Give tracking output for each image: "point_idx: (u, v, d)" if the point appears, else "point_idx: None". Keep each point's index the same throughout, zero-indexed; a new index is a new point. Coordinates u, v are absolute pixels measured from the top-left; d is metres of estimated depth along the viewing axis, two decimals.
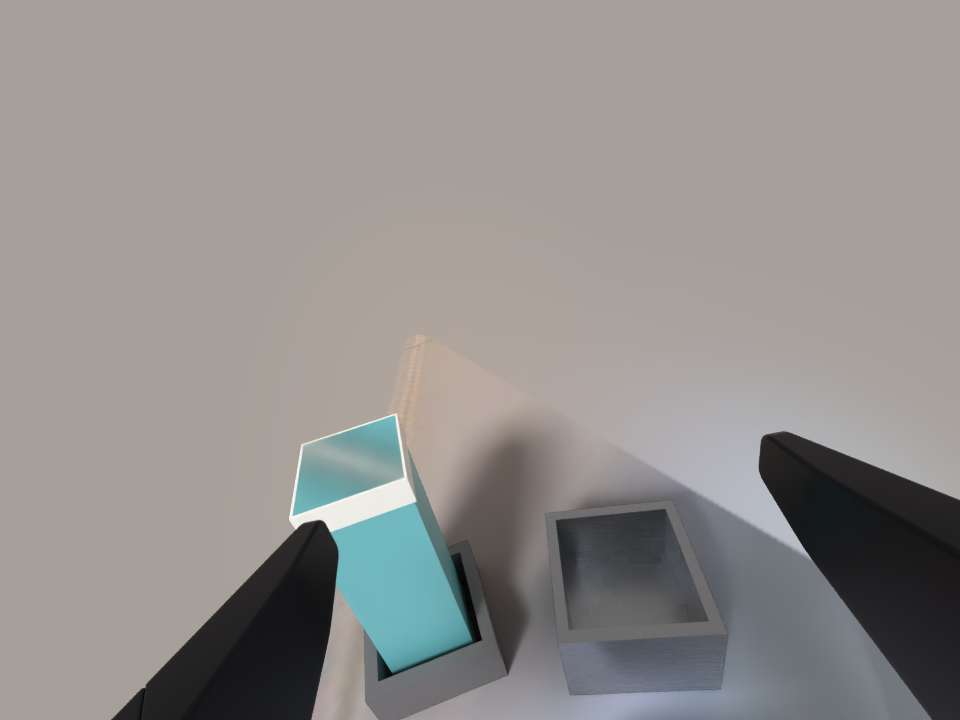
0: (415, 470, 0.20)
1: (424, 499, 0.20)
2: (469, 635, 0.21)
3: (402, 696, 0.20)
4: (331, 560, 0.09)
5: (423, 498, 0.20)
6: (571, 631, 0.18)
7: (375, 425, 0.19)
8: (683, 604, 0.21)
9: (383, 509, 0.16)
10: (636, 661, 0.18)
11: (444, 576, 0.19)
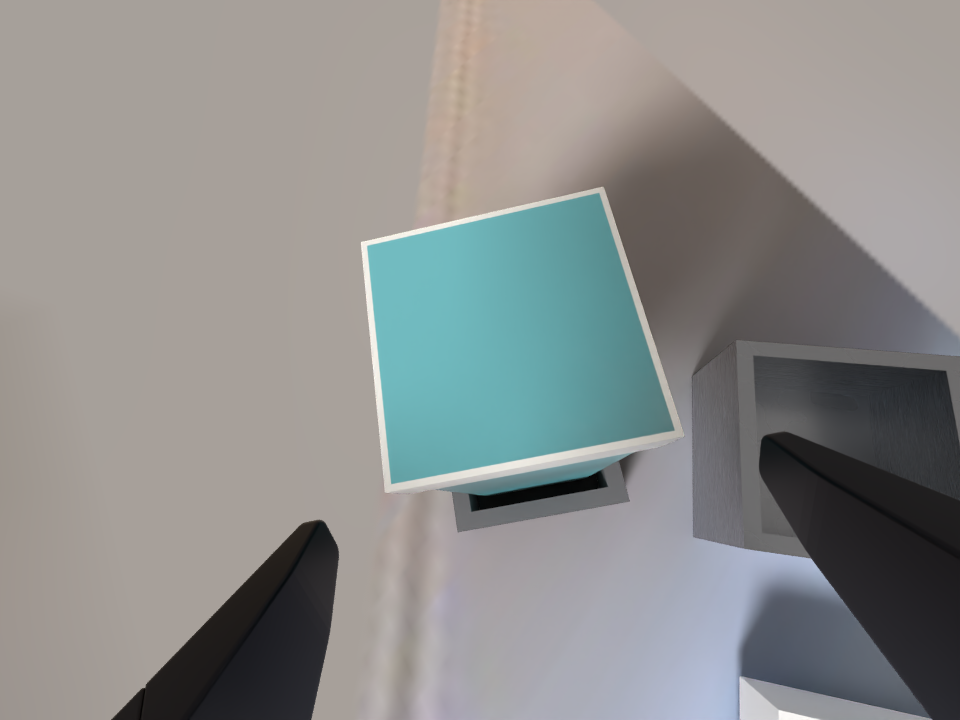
0: None
1: None
2: (589, 475, 0.16)
3: None
4: (331, 560, 0.09)
5: None
6: (766, 535, 0.13)
7: (550, 218, 0.07)
8: None
9: (588, 459, 0.07)
10: None
11: (608, 465, 0.12)
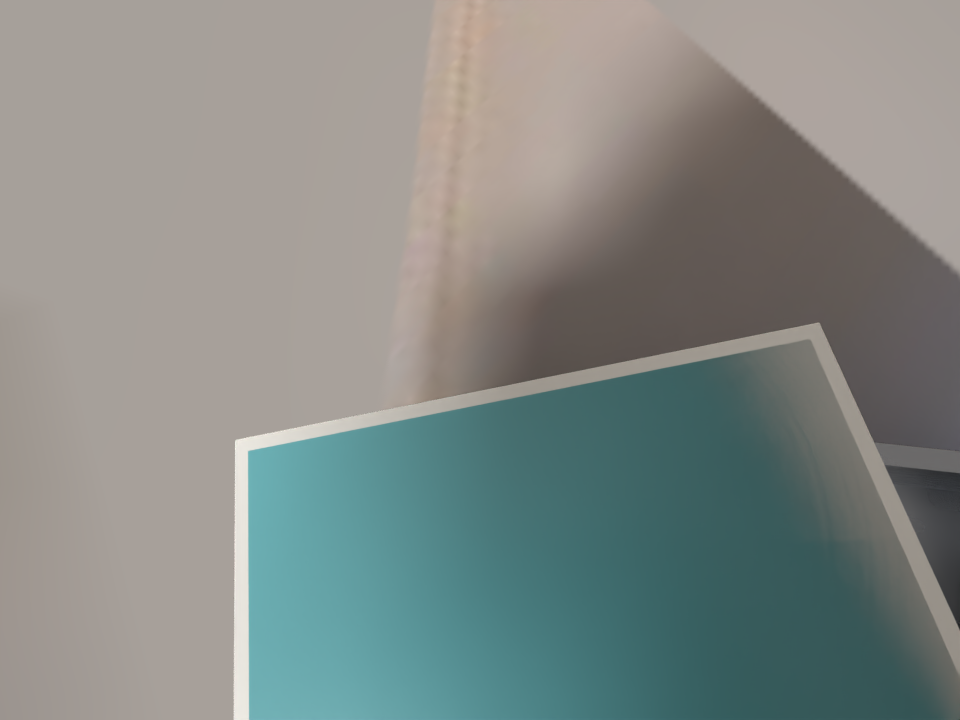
0: None
1: None
2: None
3: None
4: None
5: None
6: None
7: (689, 405, 0.03)
8: None
9: None
10: None
11: None
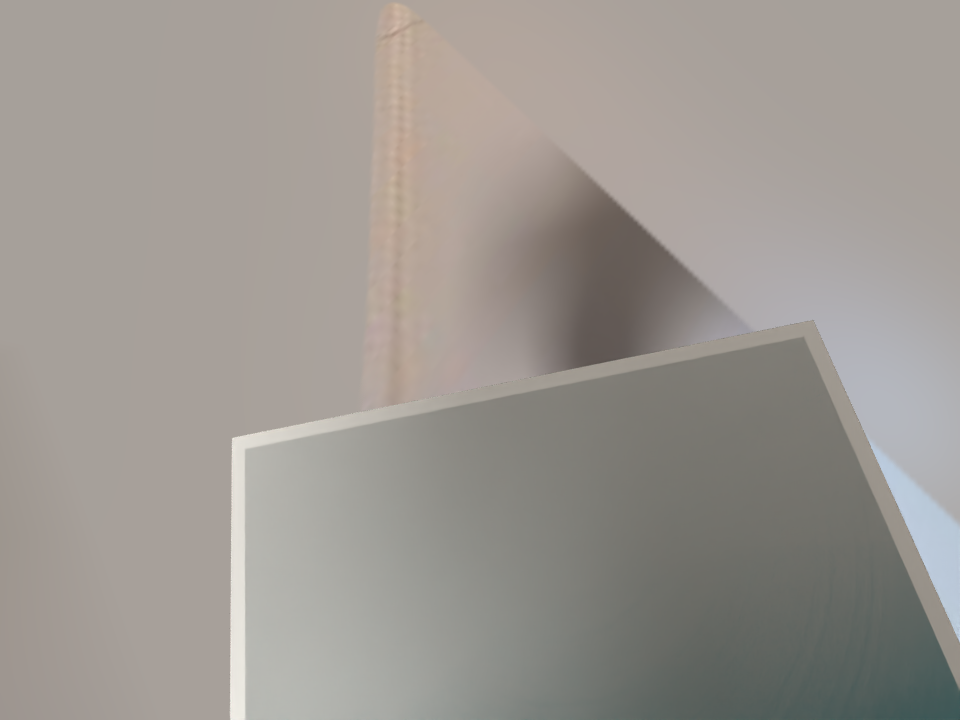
0: None
1: None
2: None
3: None
4: None
5: None
6: None
7: (684, 403, 0.03)
8: None
9: None
10: None
11: None
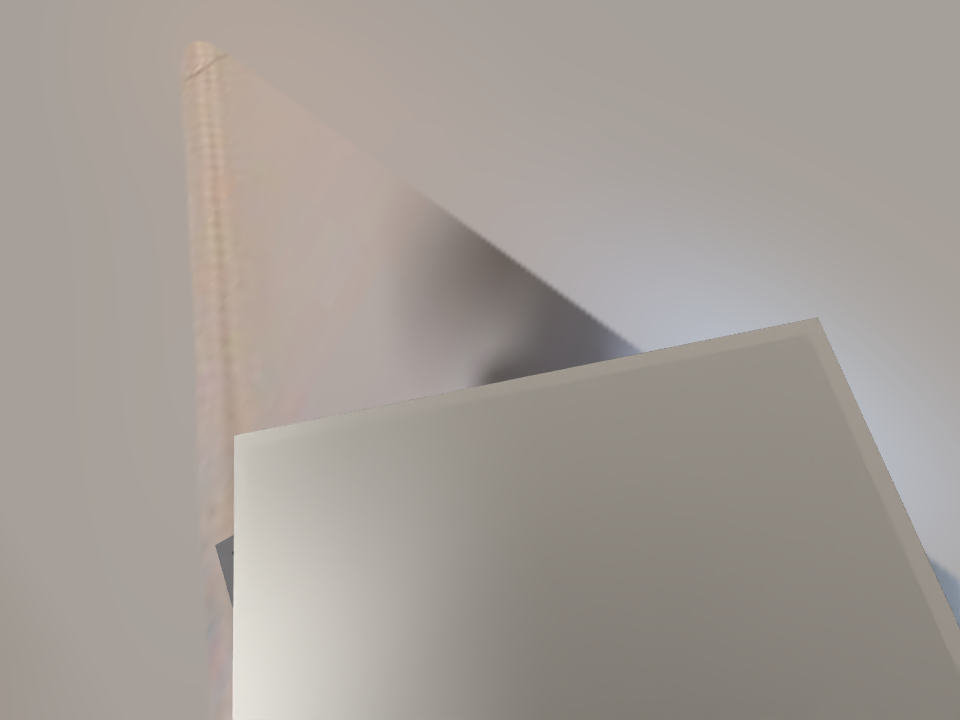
0: None
1: None
2: None
3: None
4: None
5: None
6: None
7: (688, 400, 0.03)
8: None
9: None
10: None
11: None
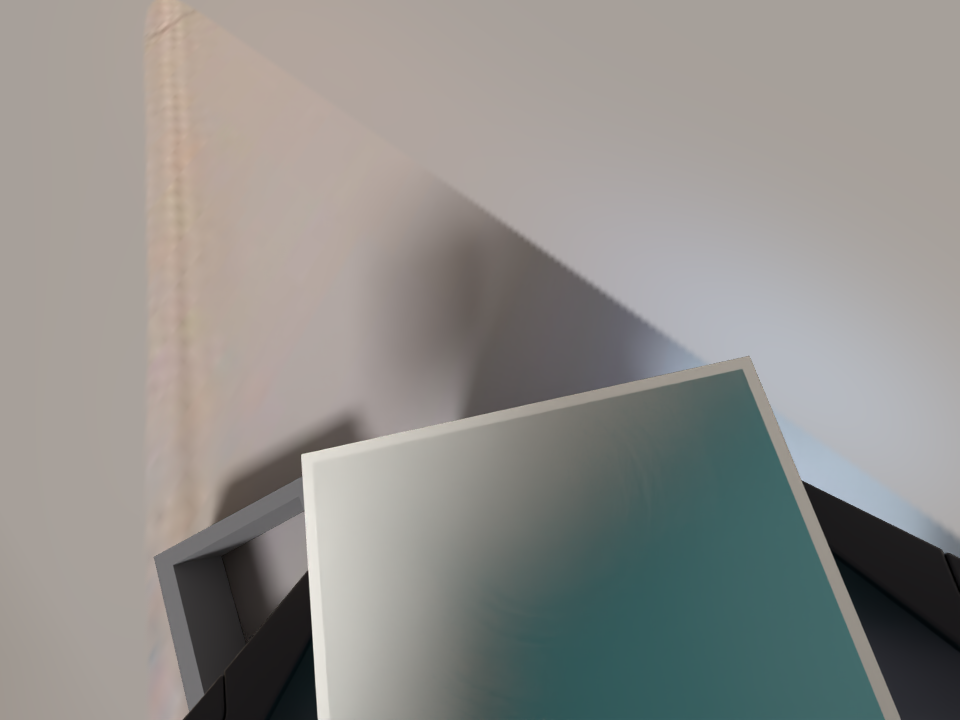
0: None
1: None
2: None
3: None
4: None
5: None
6: None
7: (652, 421, 0.04)
8: None
9: None
10: None
11: None
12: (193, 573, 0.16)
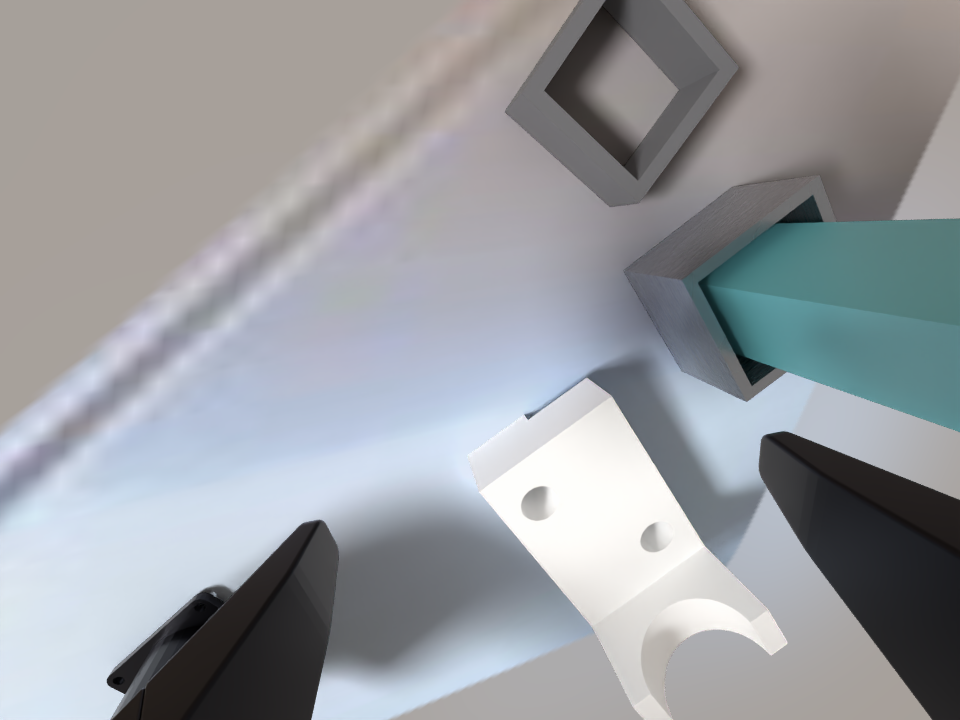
0: None
1: None
2: (740, 354, 0.20)
3: (545, 126, 0.17)
4: (331, 560, 0.09)
5: None
6: (697, 285, 0.17)
7: None
8: None
9: None
10: (687, 331, 0.19)
11: (844, 390, 0.15)
12: None
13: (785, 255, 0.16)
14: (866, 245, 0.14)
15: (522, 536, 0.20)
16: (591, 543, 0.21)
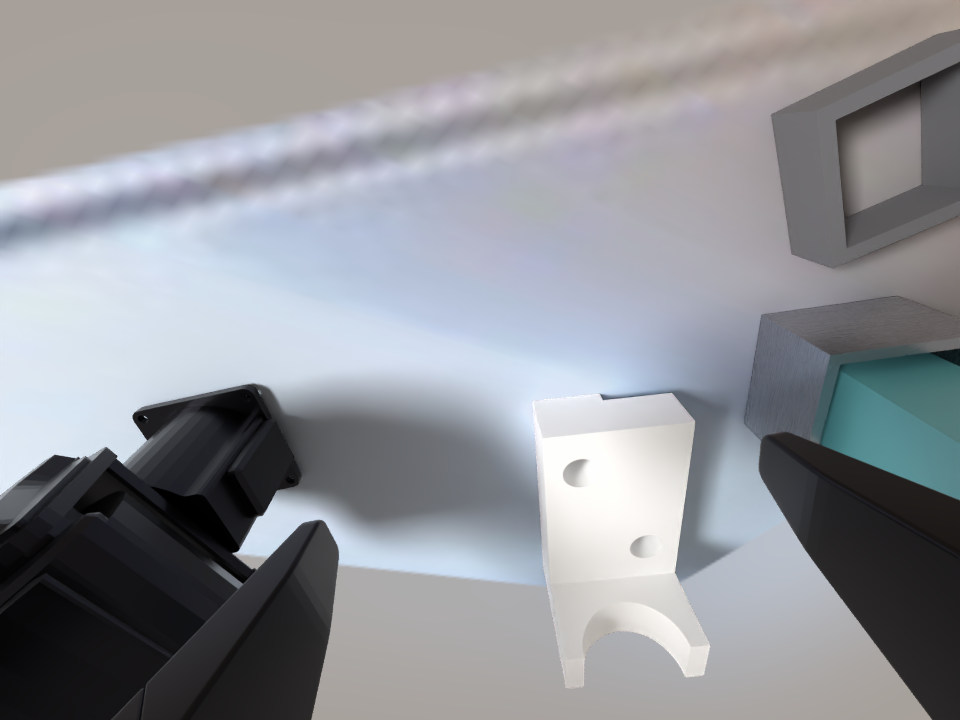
0: None
1: None
2: None
3: (806, 152, 0.17)
4: (331, 560, 0.09)
5: None
6: (838, 367, 0.18)
7: None
8: None
9: None
10: (788, 396, 0.20)
11: None
12: None
13: (928, 383, 0.17)
14: None
15: (549, 490, 0.22)
16: (596, 524, 0.23)
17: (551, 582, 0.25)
